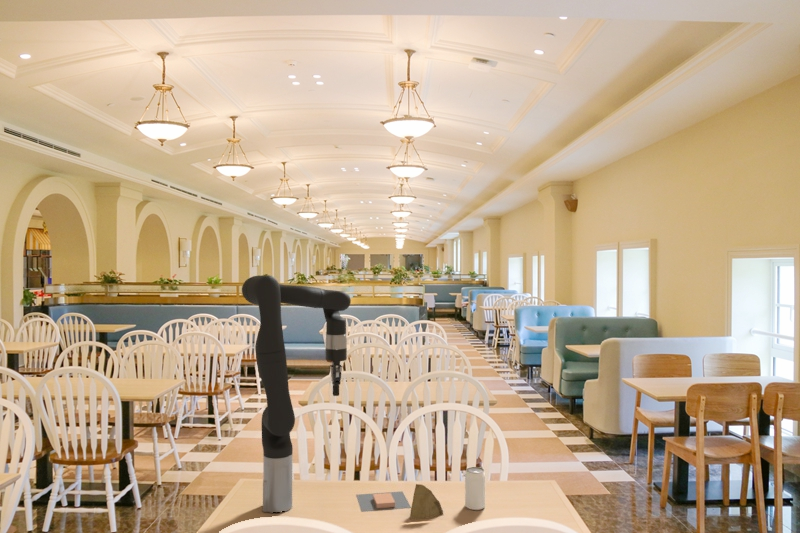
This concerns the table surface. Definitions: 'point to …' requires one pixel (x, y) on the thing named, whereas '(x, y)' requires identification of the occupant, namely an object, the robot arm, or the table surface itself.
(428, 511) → the rock
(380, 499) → the tile
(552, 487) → the table surface
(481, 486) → the can
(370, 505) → the mat
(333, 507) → the table surface
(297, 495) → the table surface
